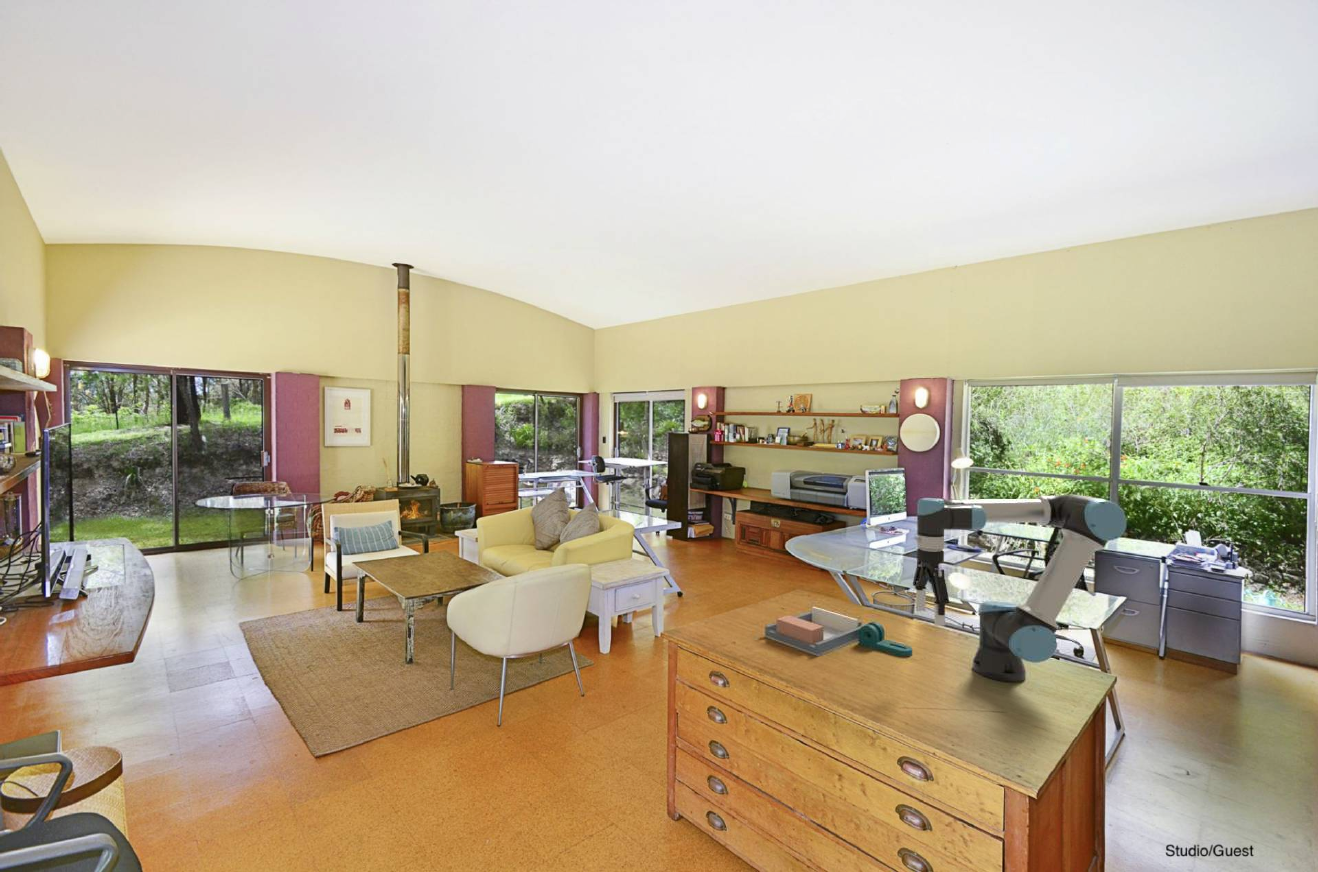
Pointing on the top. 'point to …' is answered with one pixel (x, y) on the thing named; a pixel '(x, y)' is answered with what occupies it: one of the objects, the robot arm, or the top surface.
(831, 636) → the grey tray
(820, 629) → the box
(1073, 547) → the robot arm
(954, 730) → the top surface
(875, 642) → the bracket
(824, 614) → the pusher plate
